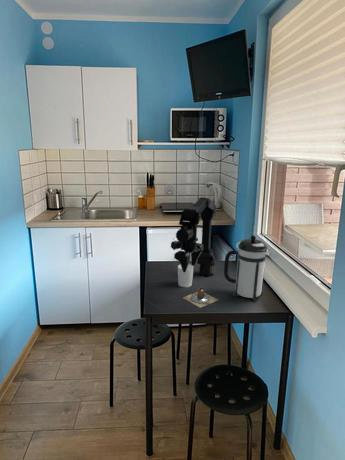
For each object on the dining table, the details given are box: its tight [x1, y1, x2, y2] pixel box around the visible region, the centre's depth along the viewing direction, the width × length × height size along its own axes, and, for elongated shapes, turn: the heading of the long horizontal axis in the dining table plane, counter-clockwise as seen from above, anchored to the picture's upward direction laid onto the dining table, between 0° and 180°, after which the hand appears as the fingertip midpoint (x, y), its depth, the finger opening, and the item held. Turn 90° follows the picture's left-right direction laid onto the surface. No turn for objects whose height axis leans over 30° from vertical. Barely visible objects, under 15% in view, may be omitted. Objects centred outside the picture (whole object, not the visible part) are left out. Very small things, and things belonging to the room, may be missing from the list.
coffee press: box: [223, 234, 270, 303], centre depth 154 cm, size 17×16×30 cm
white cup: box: [177, 263, 195, 288], centre depth 166 cm, size 8×8×10 cm
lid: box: [191, 287, 210, 303], centre depth 152 cm, size 9×9×5 cm
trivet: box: [182, 291, 219, 309], centre depth 152 cm, size 12×12×1 cm
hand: (188, 268), depth 152 cm, fingers open, 9 cm apart
